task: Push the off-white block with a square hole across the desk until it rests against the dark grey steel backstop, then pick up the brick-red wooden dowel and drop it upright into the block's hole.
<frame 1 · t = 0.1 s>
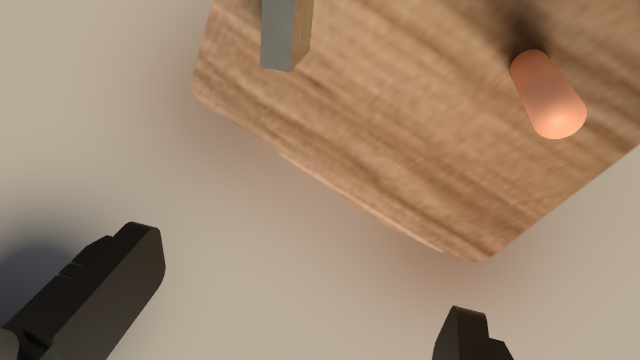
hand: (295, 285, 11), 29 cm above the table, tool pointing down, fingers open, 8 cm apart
dowel: (529, 67, 34), on the table
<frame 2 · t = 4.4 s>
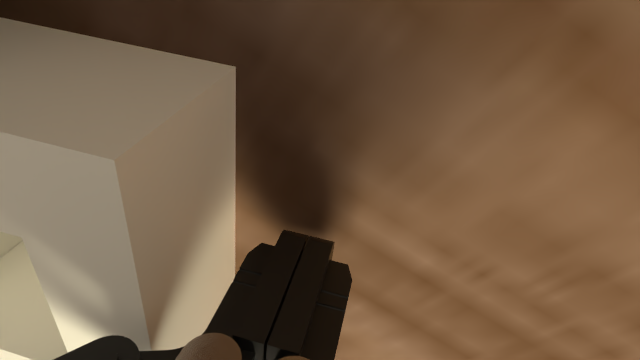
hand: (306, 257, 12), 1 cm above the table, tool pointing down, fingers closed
socket block: (100, 177, 14), on the table, touching gripper
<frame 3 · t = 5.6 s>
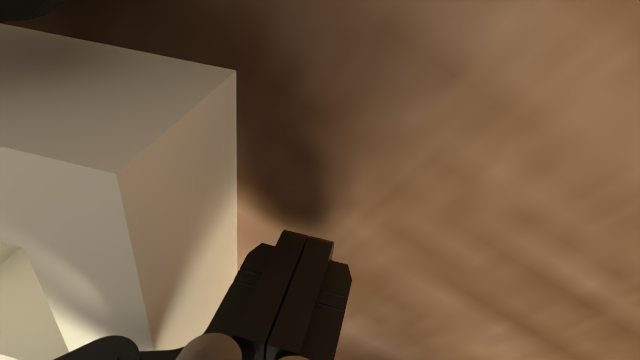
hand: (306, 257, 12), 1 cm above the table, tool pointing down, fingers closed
socket block: (99, 182, 14), on the table, touching backstop, gripper
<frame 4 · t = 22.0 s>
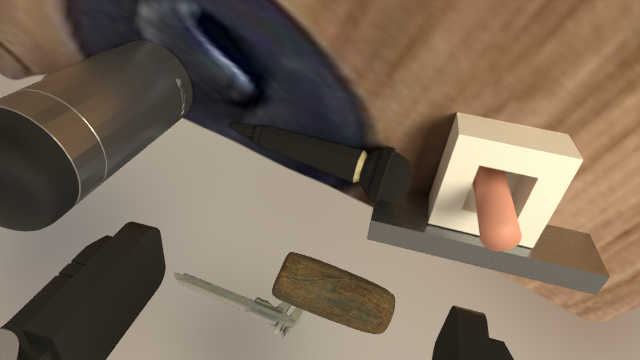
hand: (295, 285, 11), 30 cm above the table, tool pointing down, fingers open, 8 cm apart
dowel: (487, 170, 40), point 1 cm above the table, touching socket block
microphone: (324, 139, 44), on the table
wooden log: (338, 274, 54), on the table
socket block: (492, 166, 41), on the table, touching dowel
backstop: (476, 218, 44), on the table
caliper: (239, 285, 60), on the table
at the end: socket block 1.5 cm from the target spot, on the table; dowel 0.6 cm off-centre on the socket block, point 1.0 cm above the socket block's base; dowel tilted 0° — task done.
